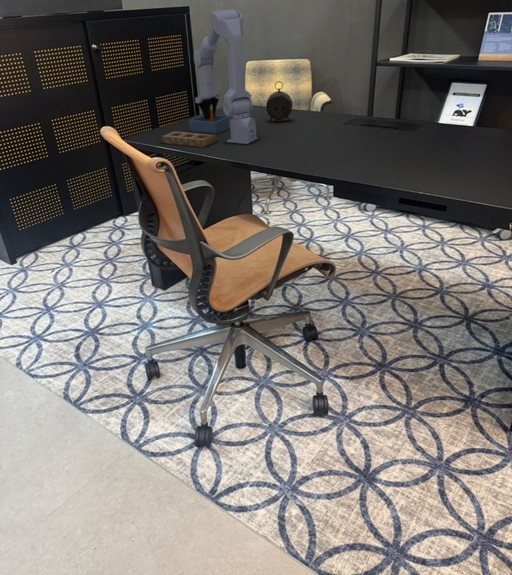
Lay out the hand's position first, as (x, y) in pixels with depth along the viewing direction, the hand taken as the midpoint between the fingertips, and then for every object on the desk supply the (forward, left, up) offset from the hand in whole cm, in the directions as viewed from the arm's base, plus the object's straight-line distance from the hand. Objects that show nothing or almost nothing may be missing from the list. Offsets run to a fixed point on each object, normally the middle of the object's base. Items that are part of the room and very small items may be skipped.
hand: (209, 117), depth 208 cm
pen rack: (-4, +20, -5) cm, 21 cm away
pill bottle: (0, 0, -3) cm, 3 cm away
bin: (0, 0, -5) cm, 5 cm away
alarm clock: (-22, -20, -5) cm, 30 cm away
